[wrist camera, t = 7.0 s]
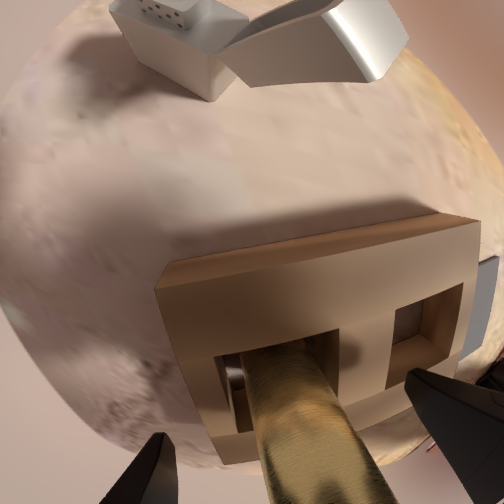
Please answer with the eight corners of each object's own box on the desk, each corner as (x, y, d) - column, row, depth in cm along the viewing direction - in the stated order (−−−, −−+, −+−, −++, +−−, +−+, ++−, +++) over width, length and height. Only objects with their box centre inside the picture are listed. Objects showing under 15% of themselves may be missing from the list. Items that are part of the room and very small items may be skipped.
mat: (479, 344, 16) (481, 345, 15) (425, 378, 15) (427, 380, 15) (496, 255, 14) (499, 256, 13) (444, 278, 13) (447, 280, 13)
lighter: (136, 61, 8) (61, -62, 1) (162, 33, 8) (125, -100, 1) (272, 146, 10) (399, 71, 2) (296, 115, 10) (431, 24, 2)
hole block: (425, 360, 15) (451, 383, 12) (220, 425, 13) (224, 465, 10) (441, 212, 12) (480, 220, 9) (168, 262, 11) (153, 289, 8)
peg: (302, 363, 13) (392, 534, 3) (244, 376, 13) (289, 569, 3) (298, 313, 12) (426, 506, 2) (233, 327, 12) (282, 562, 2)
